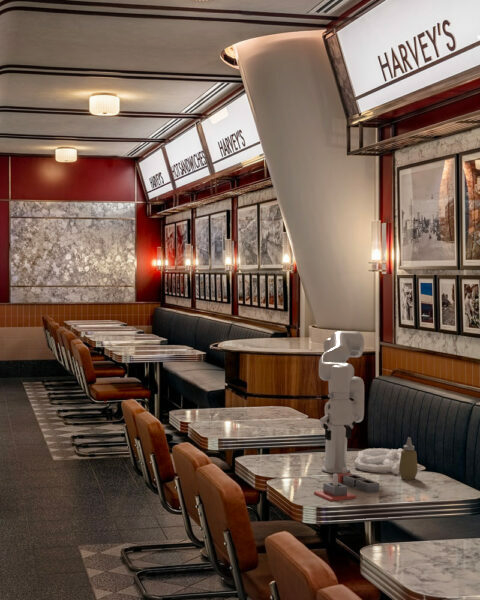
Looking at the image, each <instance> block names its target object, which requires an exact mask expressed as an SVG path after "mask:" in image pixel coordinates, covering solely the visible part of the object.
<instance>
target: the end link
mask: <svg viewBox="0 0 480 600" xmlns="http://www.w3.org/2000/svg"><path fill="white" fill-rule="evenodd" d="M322 491H323V492H324V493H327V494H329V495H332V496H334V497H336V496H345V495H347V492H348V485H345V484H343V483H339V482H338V487H335V486H333V481H332V482H324V483H323V485H322Z"/></svg>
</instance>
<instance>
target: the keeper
mask: <svg viewBox="0 0 480 600" xmlns="http://www.w3.org/2000/svg"><path fill="white" fill-rule="evenodd" d="M337 474H338V473H332V482H333V486H335V487H338V483H339V482H338V475H337ZM313 495H315V496H317V497H320V498H322V499H325V500H327V501H329V502H333V501H334V502H335V501H345V500H352V498H354V499H356V498H357V495H355V494H354V493H350V492H348V491H347V495H345V496H336V497H334V496H332V495H329V494H327V493H324V492H323V490H318V491H317V490H315V491H313ZM344 499H345V500H344Z"/></svg>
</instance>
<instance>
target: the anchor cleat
mask: <svg viewBox="0 0 480 600" xmlns="http://www.w3.org/2000/svg"><path fill="white" fill-rule="evenodd" d="M347 467H348V466H346V467H343V473H336V474H337V475H338V483H340V484H343V476H344V475H353V473H350V472H347V473H346V471H347Z"/></svg>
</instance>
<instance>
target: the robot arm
mask: <svg viewBox="0 0 480 600" xmlns="http://www.w3.org/2000/svg"><path fill="white" fill-rule="evenodd" d="M364 349H365V338H364V336H363V334H362V333H360V332H359V331H350V330H349V331H348V330H346V331H344V330H339V331H335V332H333V333H332V334H331V335H330V337H328V338H326V339H324V341H323V352H324V353H323V354H322V355H321V356H320V358H319V361H318V377H319V378H320V379H321V380H322V381H324V382H325V381H326V382H327V381H328V394H327V397H328V398H329V399H328V401H327V402H326V403H325V405H324V416H323V417H321V418H320V419H319V422H320V424H321V427H322V428H323V429H324V439H325V449H324V450H325V454H324V455H325V457H324V458H323V459H322V461H321V462H322V463H324V464H323V465H322V466H321V471H323V472H325V473H330V474H340V473H343V467H347V471H346V473H350V470H351V469H350V467H348V466H347V455H348V453H347V452H348V451H347V450H348V449H347V448H348V439H352V435H353V434H352V433H353V429H354V426H355V425H356V424H357V423H361V422H362V421H363V420H364V418H365V417H364V416H365V384H364V383H365V382H364V380H363V378H361V377H359V376H355V368H354V366H353V365H352V364H351V363H348V362H347V361H348V360H349V359H350V358H360V357H362V355H363V352H364ZM351 399H353V400H351ZM345 426H346V427H345Z"/></svg>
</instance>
